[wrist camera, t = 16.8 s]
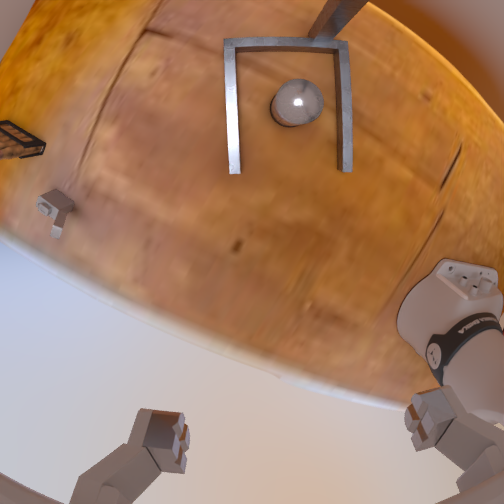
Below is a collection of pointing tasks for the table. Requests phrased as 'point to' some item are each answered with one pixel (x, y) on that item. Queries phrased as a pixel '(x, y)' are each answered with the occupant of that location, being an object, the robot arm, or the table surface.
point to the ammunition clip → (18, 142)
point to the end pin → (296, 103)
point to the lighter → (55, 209)
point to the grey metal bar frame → (320, 41)
